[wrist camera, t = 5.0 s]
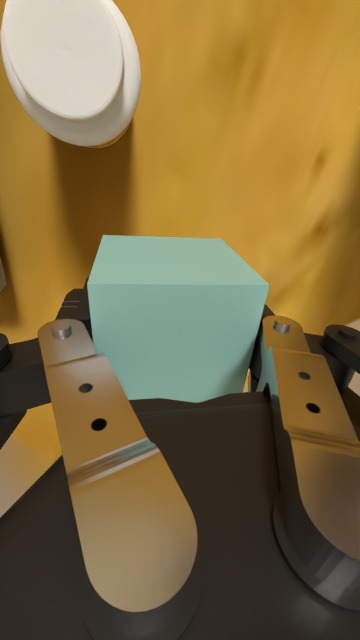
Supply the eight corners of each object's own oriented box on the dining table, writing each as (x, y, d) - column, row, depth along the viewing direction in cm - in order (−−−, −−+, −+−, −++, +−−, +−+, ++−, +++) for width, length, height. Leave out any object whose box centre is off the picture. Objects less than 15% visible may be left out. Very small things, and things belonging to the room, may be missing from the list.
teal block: (221, 238, 12) (269, 284, 8) (207, 334, 15) (238, 407, 11) (102, 235, 11) (87, 284, 7) (109, 336, 14) (101, 417, 10)
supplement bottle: (59, 152, 19) (11, 151, 11) (31, 42, 17) (-66, -79, 8) (139, 145, 20) (154, 139, 11) (126, 39, 17) (132, -77, 9)
